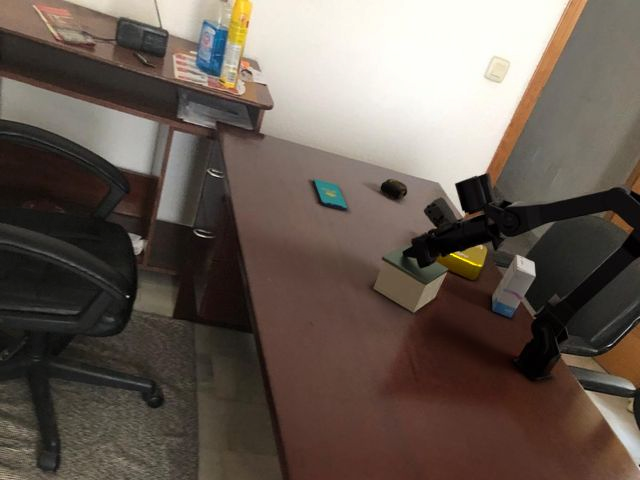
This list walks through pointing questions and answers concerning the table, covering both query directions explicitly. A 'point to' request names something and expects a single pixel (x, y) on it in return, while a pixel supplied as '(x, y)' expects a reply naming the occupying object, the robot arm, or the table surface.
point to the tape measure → (394, 188)
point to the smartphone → (329, 194)
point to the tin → (406, 288)
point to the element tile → (465, 261)
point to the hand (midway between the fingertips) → (403, 253)
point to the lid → (414, 266)
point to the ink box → (513, 286)
